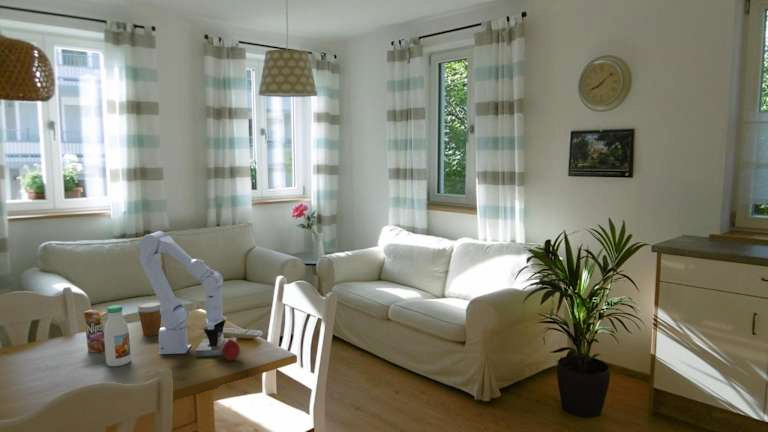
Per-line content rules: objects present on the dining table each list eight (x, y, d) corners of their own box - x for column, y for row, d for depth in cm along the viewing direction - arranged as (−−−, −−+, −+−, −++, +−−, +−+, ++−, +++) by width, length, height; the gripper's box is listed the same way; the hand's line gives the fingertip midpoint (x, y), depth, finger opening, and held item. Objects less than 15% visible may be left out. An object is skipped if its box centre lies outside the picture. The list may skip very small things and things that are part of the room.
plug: (210, 351, 201) (209, 335, 200) (212, 347, 205) (212, 332, 204) (221, 351, 201) (220, 335, 201) (223, 347, 205) (223, 331, 205)
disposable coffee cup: (143, 329, 228) (141, 301, 226) (167, 328, 229) (165, 300, 227) (135, 337, 219) (133, 308, 217) (160, 336, 220) (158, 306, 218)
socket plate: (195, 357, 197) (195, 350, 197) (203, 345, 209) (203, 339, 208) (230, 355, 198) (229, 349, 197) (236, 344, 210) (236, 337, 209)
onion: (243, 358, 195) (242, 336, 194) (233, 364, 190) (232, 341, 189) (229, 356, 197) (228, 334, 196) (219, 362, 192) (218, 340, 191)
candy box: (86, 352, 204) (83, 311, 202) (96, 348, 208) (93, 308, 206) (105, 355, 200) (101, 313, 199) (114, 350, 204) (111, 310, 203)
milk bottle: (106, 368, 188) (102, 311, 185) (106, 361, 195) (101, 305, 192) (131, 364, 191) (127, 307, 189) (130, 357, 198) (126, 302, 196)
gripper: (221, 311, 194) (223, 349, 196) (229, 300, 209) (231, 335, 210) (200, 312, 194) (202, 350, 195) (210, 301, 208) (212, 336, 210)
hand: (216, 342), depth 203 cm, fingers open, 7 cm apart
